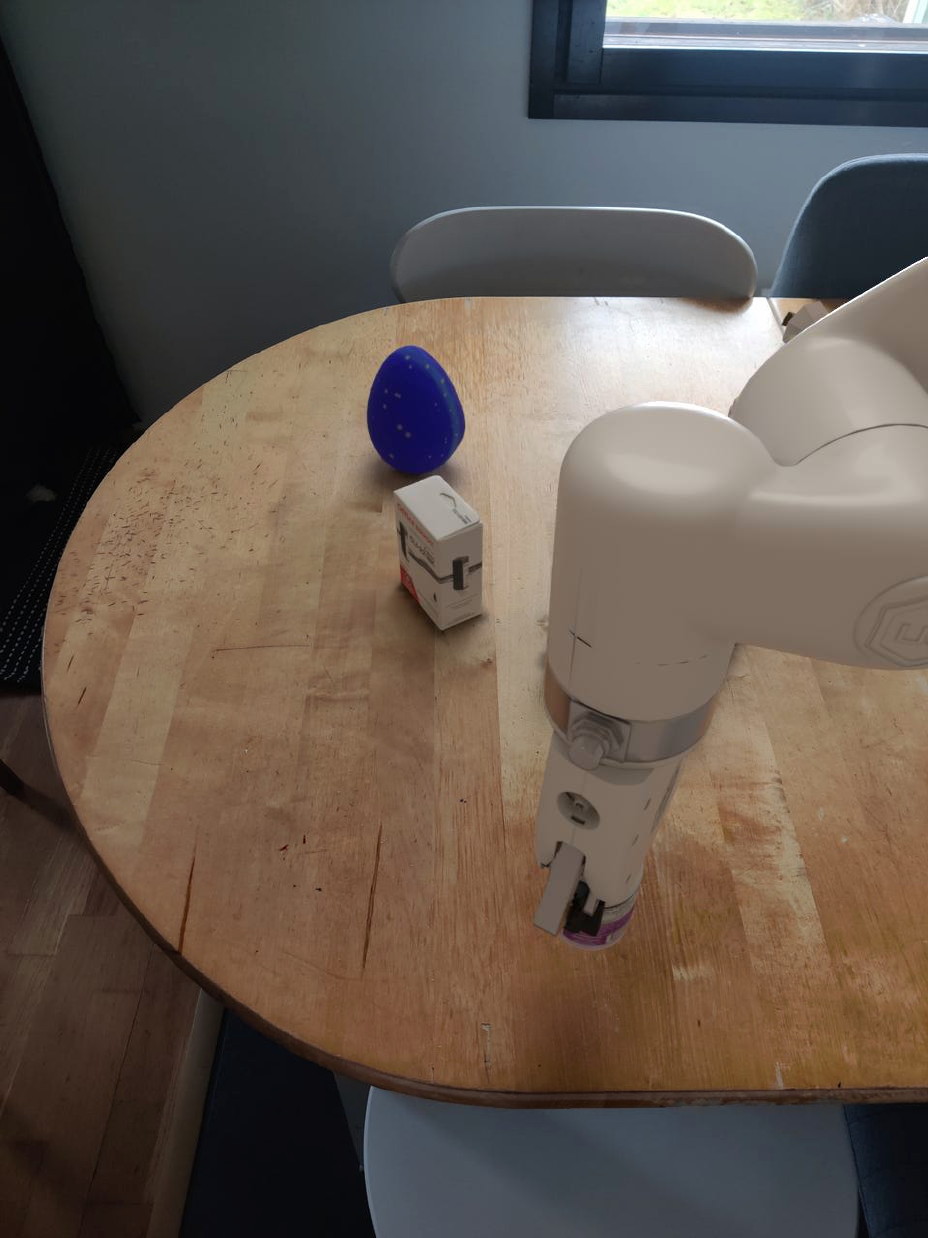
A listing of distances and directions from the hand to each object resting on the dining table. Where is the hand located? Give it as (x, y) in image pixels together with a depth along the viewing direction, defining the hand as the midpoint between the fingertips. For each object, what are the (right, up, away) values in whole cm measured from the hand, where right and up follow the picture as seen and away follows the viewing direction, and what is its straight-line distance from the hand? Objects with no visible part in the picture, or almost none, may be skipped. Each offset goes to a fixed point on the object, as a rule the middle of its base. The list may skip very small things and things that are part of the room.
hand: (594, 875), depth 50 cm
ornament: (-13, +33, +51) cm, 62 cm away
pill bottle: (0, -4, +4) cm, 5 cm away
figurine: (+41, +50, +67) cm, 93 cm away
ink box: (-10, +17, +35) cm, 40 cm away
